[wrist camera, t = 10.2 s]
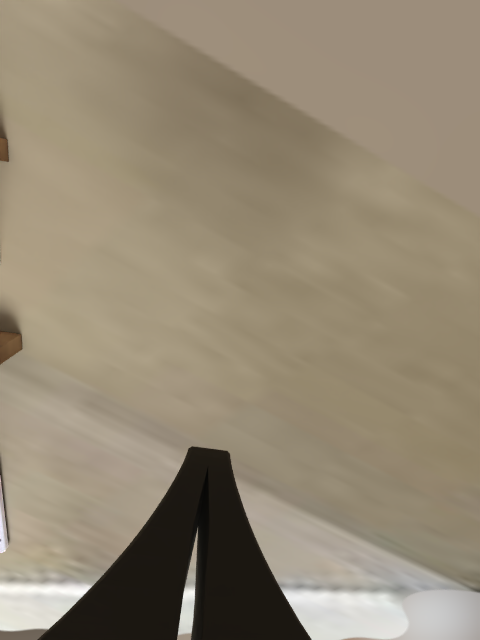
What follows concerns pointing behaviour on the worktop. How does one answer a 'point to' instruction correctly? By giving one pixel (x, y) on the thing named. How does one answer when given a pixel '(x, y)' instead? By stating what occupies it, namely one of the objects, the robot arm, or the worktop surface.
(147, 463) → the worktop surface
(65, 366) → the worktop surface
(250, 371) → the worktop surface
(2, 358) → the walnut bay
